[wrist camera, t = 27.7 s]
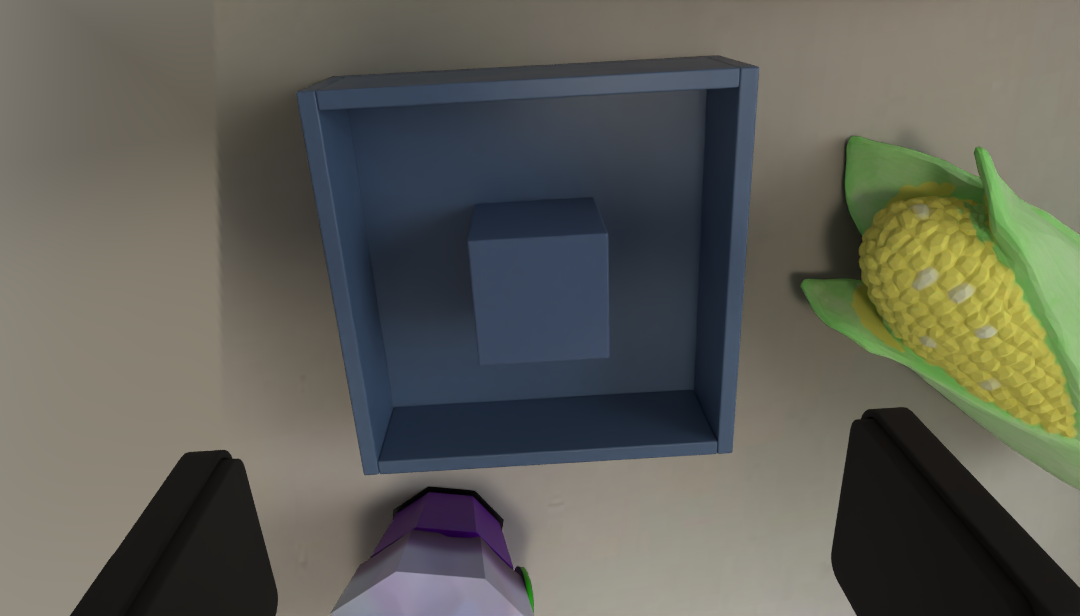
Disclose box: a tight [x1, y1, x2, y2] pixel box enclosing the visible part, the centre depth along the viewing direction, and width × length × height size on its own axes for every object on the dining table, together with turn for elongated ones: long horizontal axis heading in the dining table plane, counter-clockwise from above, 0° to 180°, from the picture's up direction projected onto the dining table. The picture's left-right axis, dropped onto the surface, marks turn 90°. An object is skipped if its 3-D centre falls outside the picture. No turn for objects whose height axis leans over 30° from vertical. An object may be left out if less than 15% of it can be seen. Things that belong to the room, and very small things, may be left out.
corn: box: [801, 136, 1080, 490], centre depth 27 cm, size 8×8×20 cm
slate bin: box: [296, 56, 759, 475], centre depth 27 cm, size 14×14×5 cm
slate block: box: [467, 197, 610, 365], centre depth 26 cm, size 5×5×5 cm
